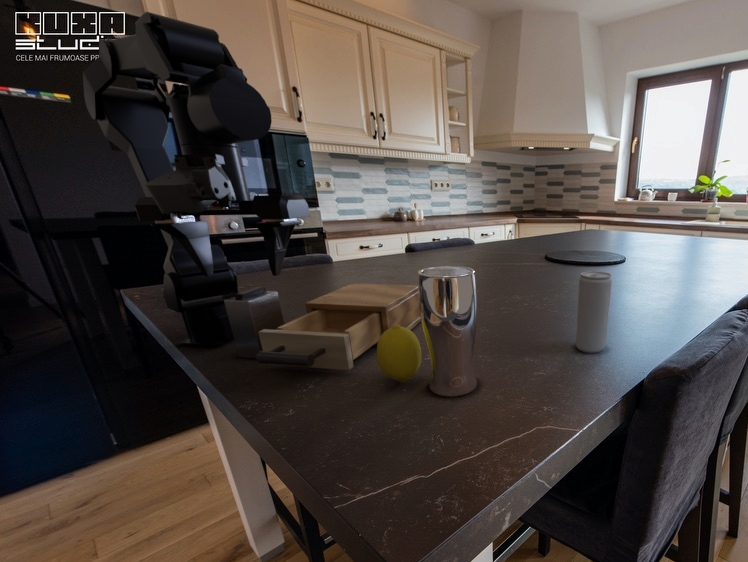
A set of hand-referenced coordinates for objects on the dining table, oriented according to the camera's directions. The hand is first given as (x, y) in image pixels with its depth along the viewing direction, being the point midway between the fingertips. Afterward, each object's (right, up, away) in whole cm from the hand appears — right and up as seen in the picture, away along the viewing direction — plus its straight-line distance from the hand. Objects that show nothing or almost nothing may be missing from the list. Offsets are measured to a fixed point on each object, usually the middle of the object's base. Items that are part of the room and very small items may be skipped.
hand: (242, 275), depth 53 cm
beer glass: (+29, -15, -2) cm, 32 cm away
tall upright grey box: (-3, -10, +9) cm, 14 cm away
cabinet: (+11, -7, +19) cm, 23 cm away
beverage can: (+49, -10, +10) cm, 51 cm away
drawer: (+9, -11, +6) cm, 15 cm away
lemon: (+22, -14, -1) cm, 26 cm away
